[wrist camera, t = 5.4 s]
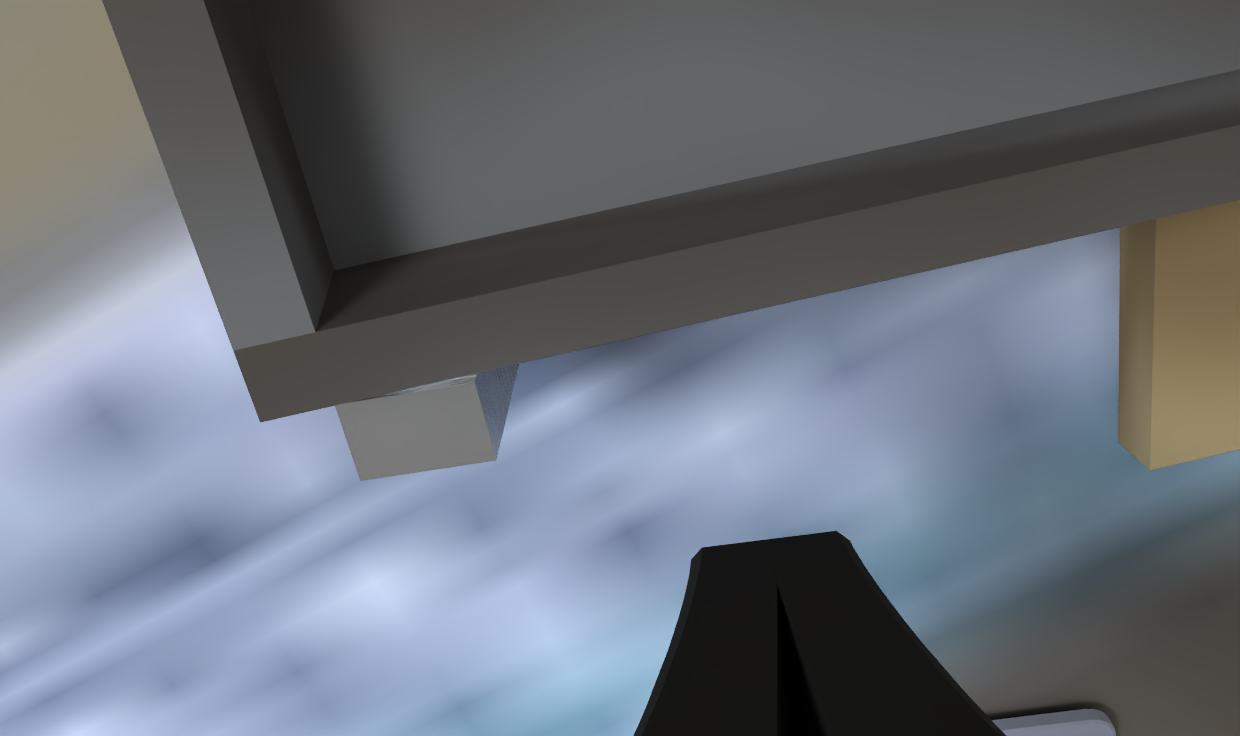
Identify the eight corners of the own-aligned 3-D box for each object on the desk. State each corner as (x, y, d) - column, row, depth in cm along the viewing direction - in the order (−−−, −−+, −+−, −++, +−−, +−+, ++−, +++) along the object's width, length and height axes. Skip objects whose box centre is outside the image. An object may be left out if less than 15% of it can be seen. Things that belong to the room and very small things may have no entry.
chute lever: (1386, 379, 16) (1548, 470, 13) (394, 613, 15) (382, 748, 13) (1518, -665, 11) (1810, -810, 9) (54, -377, 10) (-66, -446, 8)
